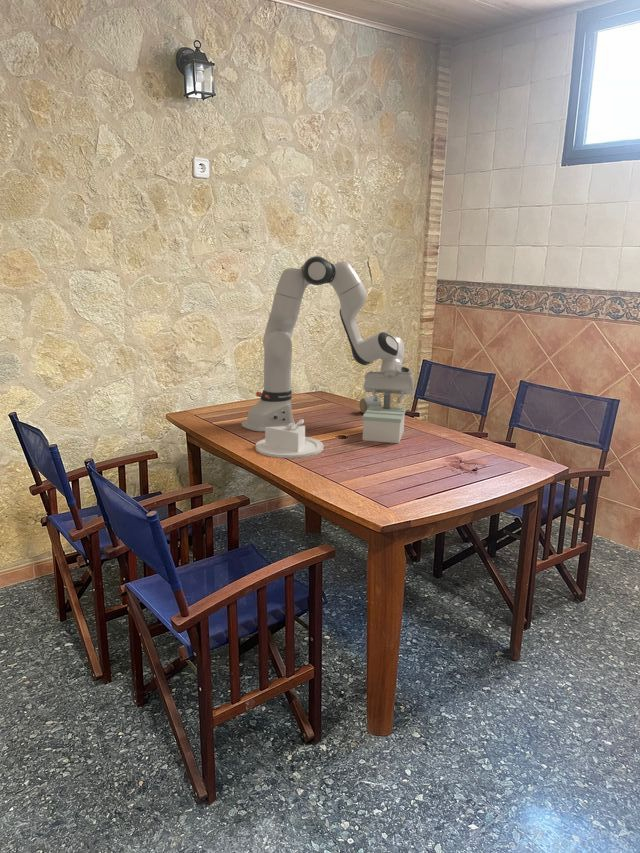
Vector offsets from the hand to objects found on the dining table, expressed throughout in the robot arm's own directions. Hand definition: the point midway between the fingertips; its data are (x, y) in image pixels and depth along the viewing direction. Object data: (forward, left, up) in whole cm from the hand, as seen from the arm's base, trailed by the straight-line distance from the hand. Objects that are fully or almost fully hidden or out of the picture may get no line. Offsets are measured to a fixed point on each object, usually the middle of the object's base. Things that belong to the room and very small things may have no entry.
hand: (387, 401), depth 252 cm
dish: (-44, +7, -13) cm, 47 cm away
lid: (-5, -4, -6) cm, 9 cm away
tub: (-5, -4, -13) cm, 14 cm away
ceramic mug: (+17, +24, -13) cm, 32 cm away
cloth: (-11, -48, -13) cm, 51 cm away
